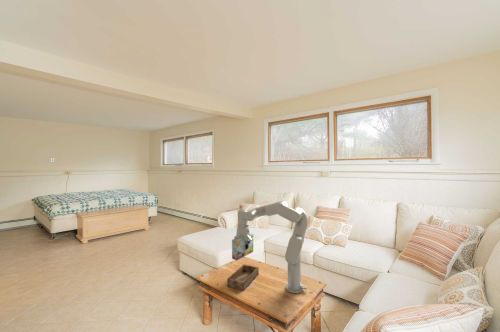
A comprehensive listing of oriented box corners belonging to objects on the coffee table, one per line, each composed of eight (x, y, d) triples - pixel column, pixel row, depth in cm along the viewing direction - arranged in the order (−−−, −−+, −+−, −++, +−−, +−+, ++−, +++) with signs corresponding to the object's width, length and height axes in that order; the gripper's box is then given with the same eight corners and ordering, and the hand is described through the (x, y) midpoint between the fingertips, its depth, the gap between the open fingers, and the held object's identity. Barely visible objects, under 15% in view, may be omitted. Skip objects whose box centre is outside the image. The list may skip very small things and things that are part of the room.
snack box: (237, 260, 176) (236, 241, 175) (231, 259, 179) (231, 239, 179) (253, 251, 193) (253, 233, 192) (248, 250, 196) (248, 232, 196)
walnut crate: (258, 274, 196) (258, 267, 195) (243, 290, 171) (243, 282, 171) (243, 271, 202) (243, 264, 201) (227, 286, 177) (227, 279, 177)
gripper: (254, 225, 185) (254, 248, 185) (235, 223, 192) (235, 245, 193) (250, 228, 178) (250, 251, 179) (230, 225, 186) (231, 248, 186)
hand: (243, 247), depth 186 cm, fingers closed on snack box, 6 cm apart
